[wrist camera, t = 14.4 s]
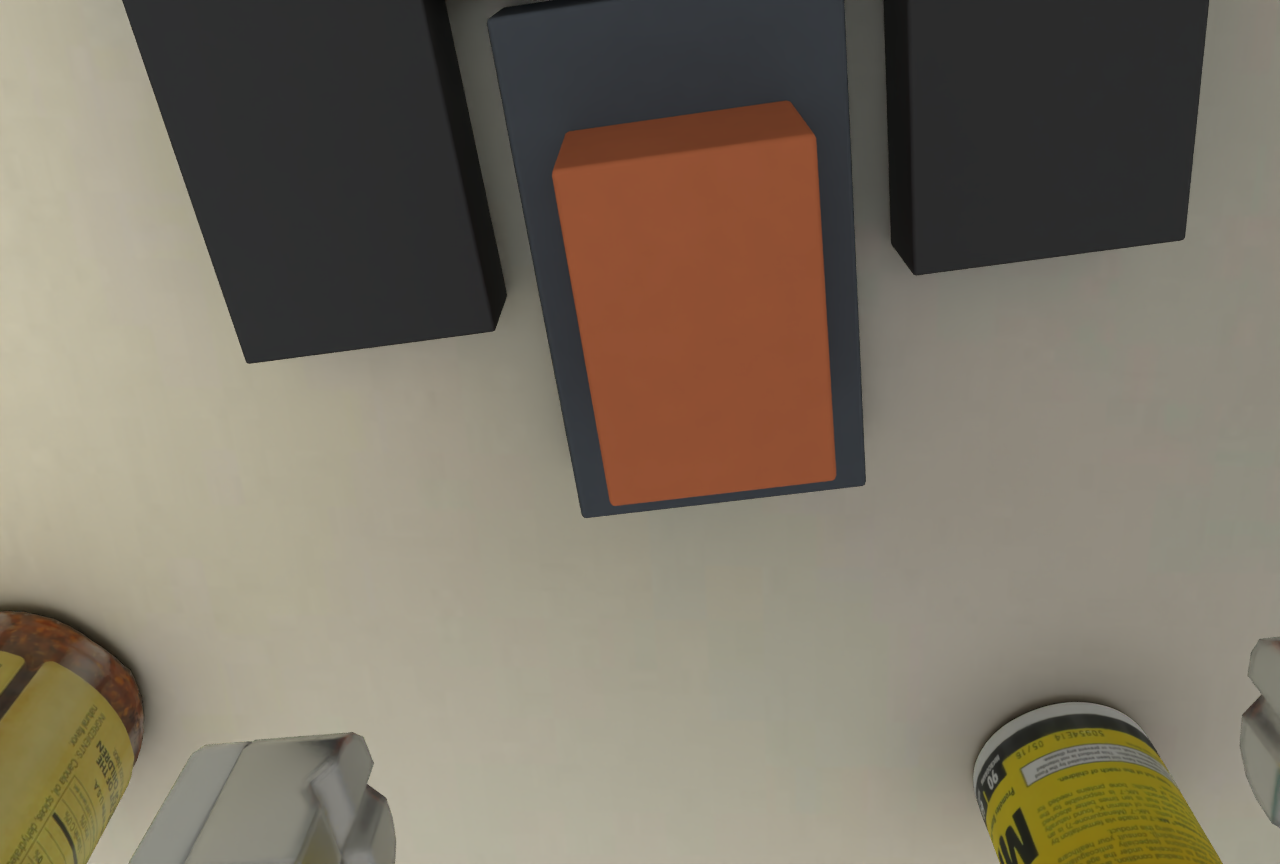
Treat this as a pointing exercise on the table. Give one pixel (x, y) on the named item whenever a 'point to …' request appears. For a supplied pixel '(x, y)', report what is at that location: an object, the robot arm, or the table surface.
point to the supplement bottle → (1083, 792)
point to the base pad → (453, 187)
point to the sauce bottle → (61, 740)
